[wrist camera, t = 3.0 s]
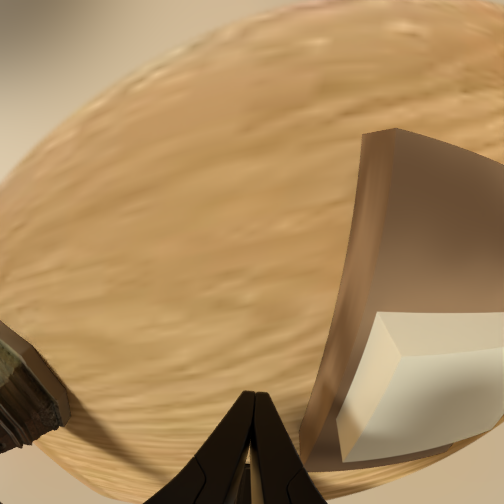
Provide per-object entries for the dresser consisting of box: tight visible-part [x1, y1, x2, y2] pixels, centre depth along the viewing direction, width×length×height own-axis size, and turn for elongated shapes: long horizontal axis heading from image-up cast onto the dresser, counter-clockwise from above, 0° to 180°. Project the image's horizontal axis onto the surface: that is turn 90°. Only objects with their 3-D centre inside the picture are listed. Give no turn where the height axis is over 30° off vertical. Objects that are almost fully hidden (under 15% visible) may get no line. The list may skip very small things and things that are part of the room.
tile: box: [336, 312, 504, 462], centre depth 9 cm, size 6×9×2 cm, turn 86°
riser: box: [299, 128, 504, 472], centre depth 11 cm, size 18×11×4 cm, turn 176°
